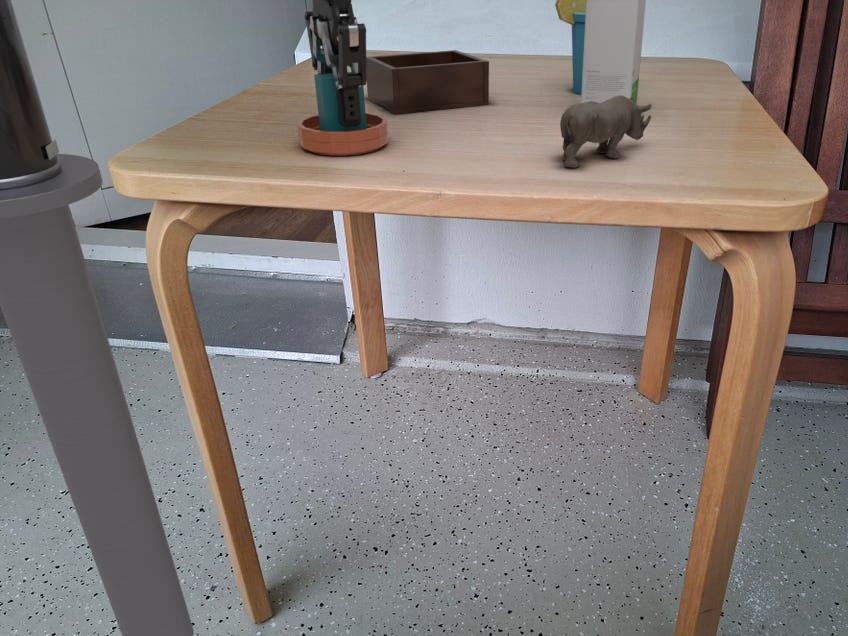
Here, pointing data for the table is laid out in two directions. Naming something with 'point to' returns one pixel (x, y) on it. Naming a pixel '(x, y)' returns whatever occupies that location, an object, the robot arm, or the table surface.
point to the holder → (427, 81)
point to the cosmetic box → (612, 49)
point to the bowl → (343, 137)
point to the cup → (575, 35)
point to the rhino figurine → (601, 126)
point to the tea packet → (334, 104)
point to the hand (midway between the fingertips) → (342, 119)
